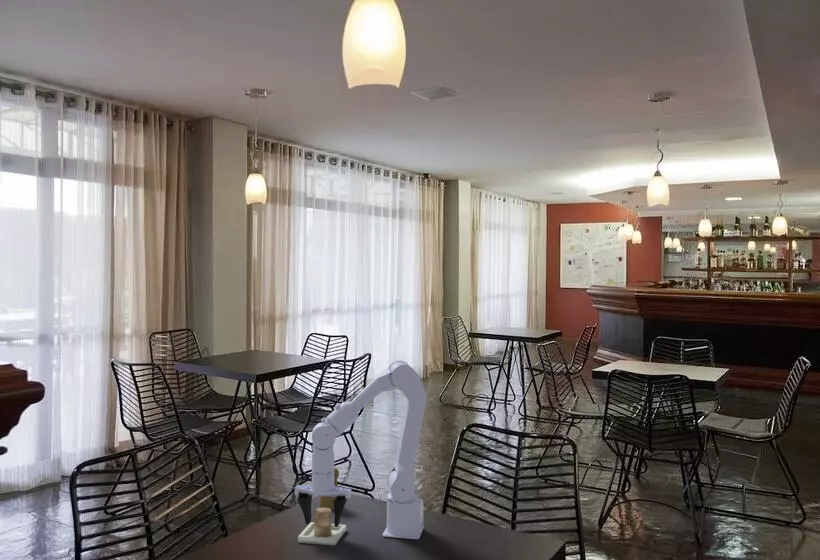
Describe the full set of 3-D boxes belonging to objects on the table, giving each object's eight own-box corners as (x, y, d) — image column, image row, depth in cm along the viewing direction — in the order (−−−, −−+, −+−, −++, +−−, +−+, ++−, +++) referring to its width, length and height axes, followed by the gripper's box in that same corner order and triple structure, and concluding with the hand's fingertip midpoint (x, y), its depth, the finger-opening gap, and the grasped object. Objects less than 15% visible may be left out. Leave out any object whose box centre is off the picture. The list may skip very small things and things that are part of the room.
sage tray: (346, 530, 165) (346, 524, 165) (335, 545, 156) (335, 539, 156) (311, 527, 167) (311, 522, 167) (297, 542, 158) (298, 536, 158)
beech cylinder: (333, 531, 163) (334, 508, 164) (328, 538, 159) (328, 514, 159) (317, 530, 164) (317, 507, 164) (311, 536, 160) (311, 513, 160)
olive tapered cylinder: (338, 509, 181) (338, 471, 181) (317, 509, 181) (317, 470, 181) (341, 502, 187) (341, 465, 187) (321, 502, 187) (321, 464, 187)
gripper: (354, 468, 164) (354, 520, 164) (301, 464, 167) (301, 516, 167) (347, 476, 157) (346, 531, 157) (291, 472, 160) (291, 526, 160)
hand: (322, 524), depth 162 cm, fingers open, 7 cm apart
